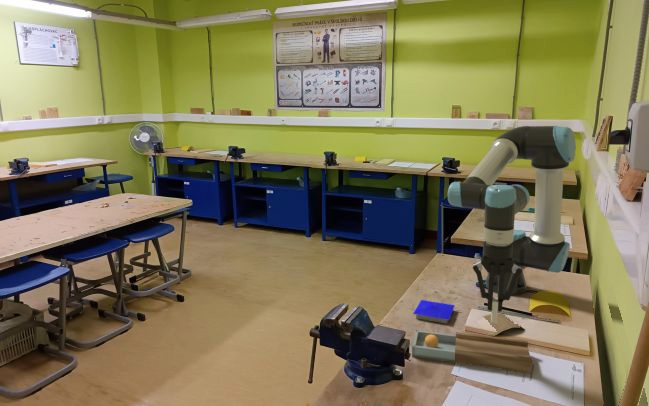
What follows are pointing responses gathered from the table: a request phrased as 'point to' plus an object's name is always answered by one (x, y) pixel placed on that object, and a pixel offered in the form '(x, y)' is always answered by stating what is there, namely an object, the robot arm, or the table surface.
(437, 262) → the table surface
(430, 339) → the ball
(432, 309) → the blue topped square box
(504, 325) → the brown curved sheet
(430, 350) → the tray
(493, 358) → the chute
